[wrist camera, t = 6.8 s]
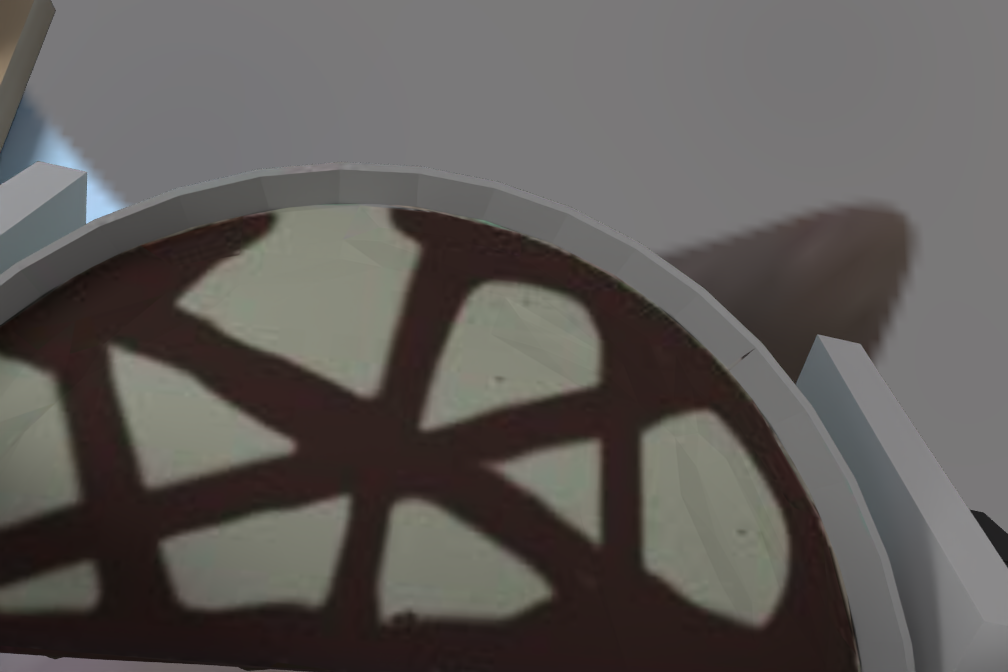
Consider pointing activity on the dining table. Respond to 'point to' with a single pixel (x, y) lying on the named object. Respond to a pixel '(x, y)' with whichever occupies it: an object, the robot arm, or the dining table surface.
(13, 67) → the pin plate
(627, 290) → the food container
